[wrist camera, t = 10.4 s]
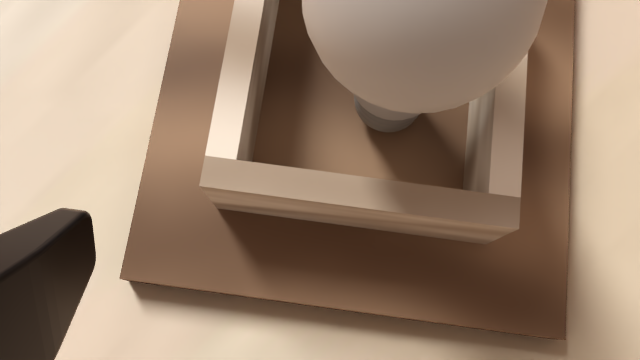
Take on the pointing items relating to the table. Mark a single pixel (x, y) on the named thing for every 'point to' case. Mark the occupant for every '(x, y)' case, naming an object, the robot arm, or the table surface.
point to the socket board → (354, 181)
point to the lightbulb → (419, 51)
